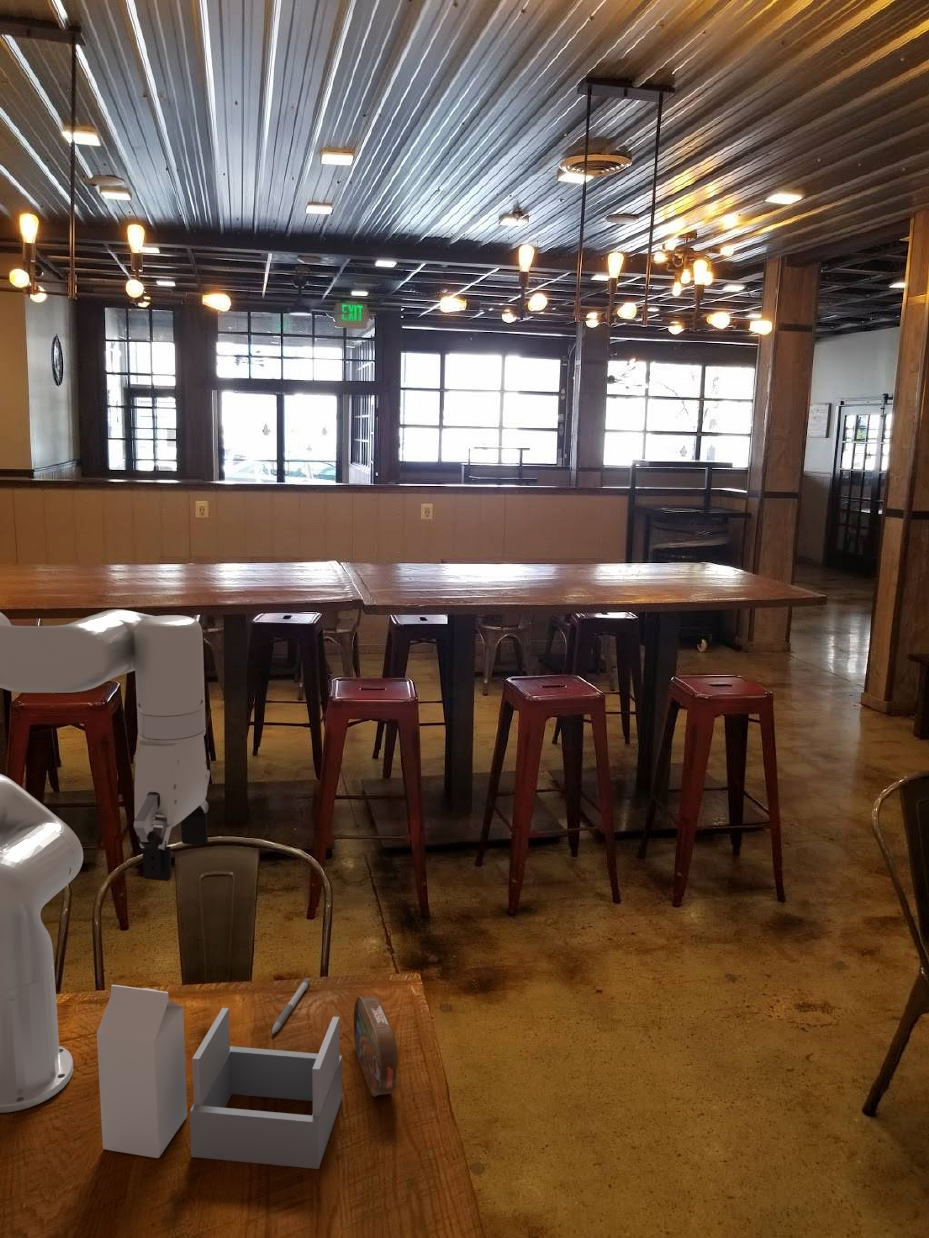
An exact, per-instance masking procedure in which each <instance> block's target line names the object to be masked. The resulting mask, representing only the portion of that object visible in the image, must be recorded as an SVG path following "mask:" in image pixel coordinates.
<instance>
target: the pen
mask: <svg viewBox="0 0 929 1238" xmlns="http://www.w3.org/2000/svg"><path fill="white" fill-rule="evenodd" d="M310 980H311V979H310V978H309V977H308V978H304V980H303V981H302V982H301V984H300V985H299V987H298V988H297V990H296V991H295V993H294V994H293V996H292V998H291V999H290V1000H289V1002H288V1003H287V1004H286V1006H285V1008H283V1010H282V1011H281V1013H280V1015H279V1016H278V1017H277V1019H276V1021H275V1022H274V1024H273V1026H272V1029H271V1034H275V1033H277V1032H278V1031H279V1030H280V1029H281V1027H282V1026H283V1025H284V1023H285V1021H287V1019H288V1017H289V1015H290V1014H291V1013H292V1011H293V1009H294V1007H295V1006H296V1004H297V1003H298V1001H299V999H300V998H301V997H302V996H303V994H304V992H305V991H307V990H308V987H309V984H310Z"/></svg>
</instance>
